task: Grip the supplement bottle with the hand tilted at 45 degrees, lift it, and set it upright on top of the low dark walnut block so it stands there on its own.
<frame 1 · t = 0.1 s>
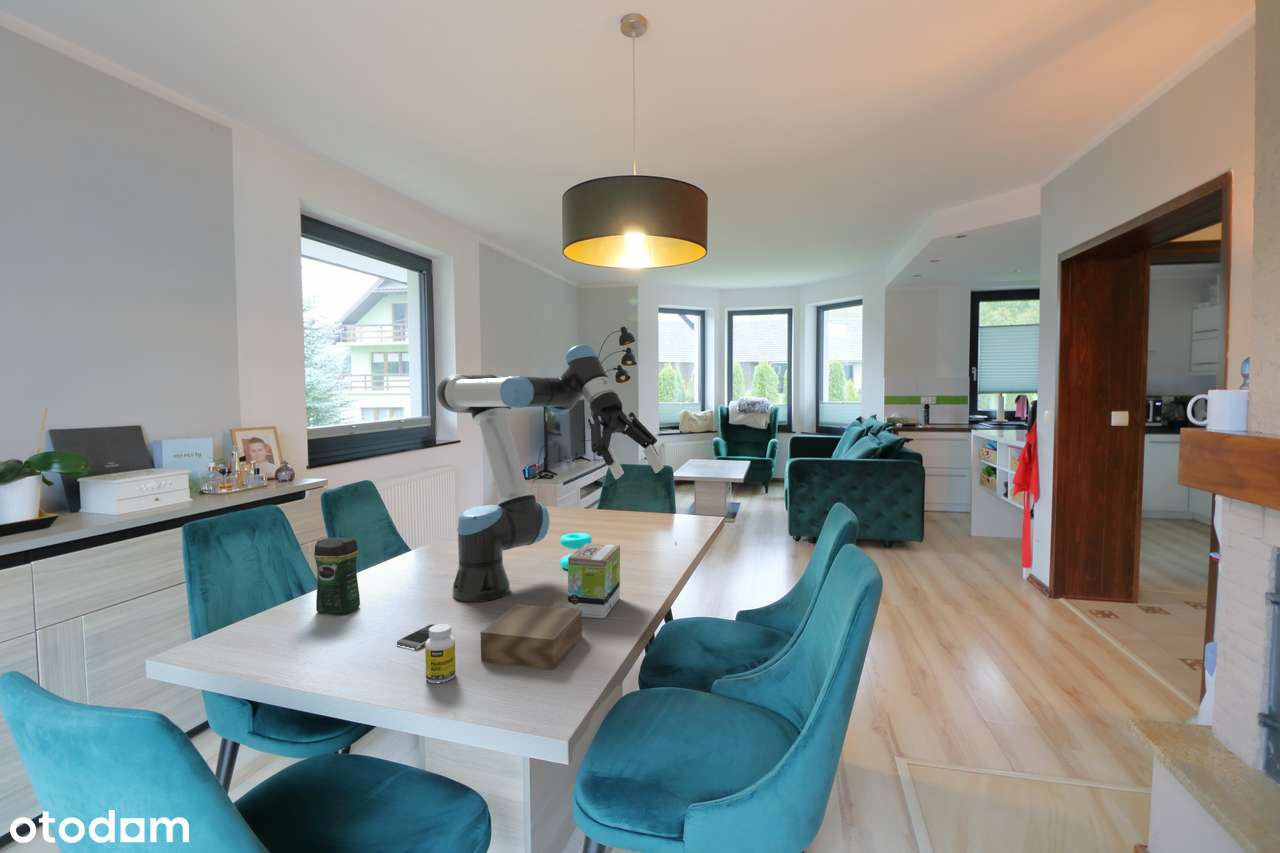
hand: (640, 473, 133), 36 cm above the table, tool tilted 35°, fingers open, 13 cm apart
donuts: (576, 567, 181), on the table
cell phone: (424, 641, 128), on the table
tea box: (595, 607, 146), on the table
walnut block: (533, 648, 122), on the table
coffee jar: (338, 610, 145), on the table
supplement bottle: (440, 678, 110), on the table
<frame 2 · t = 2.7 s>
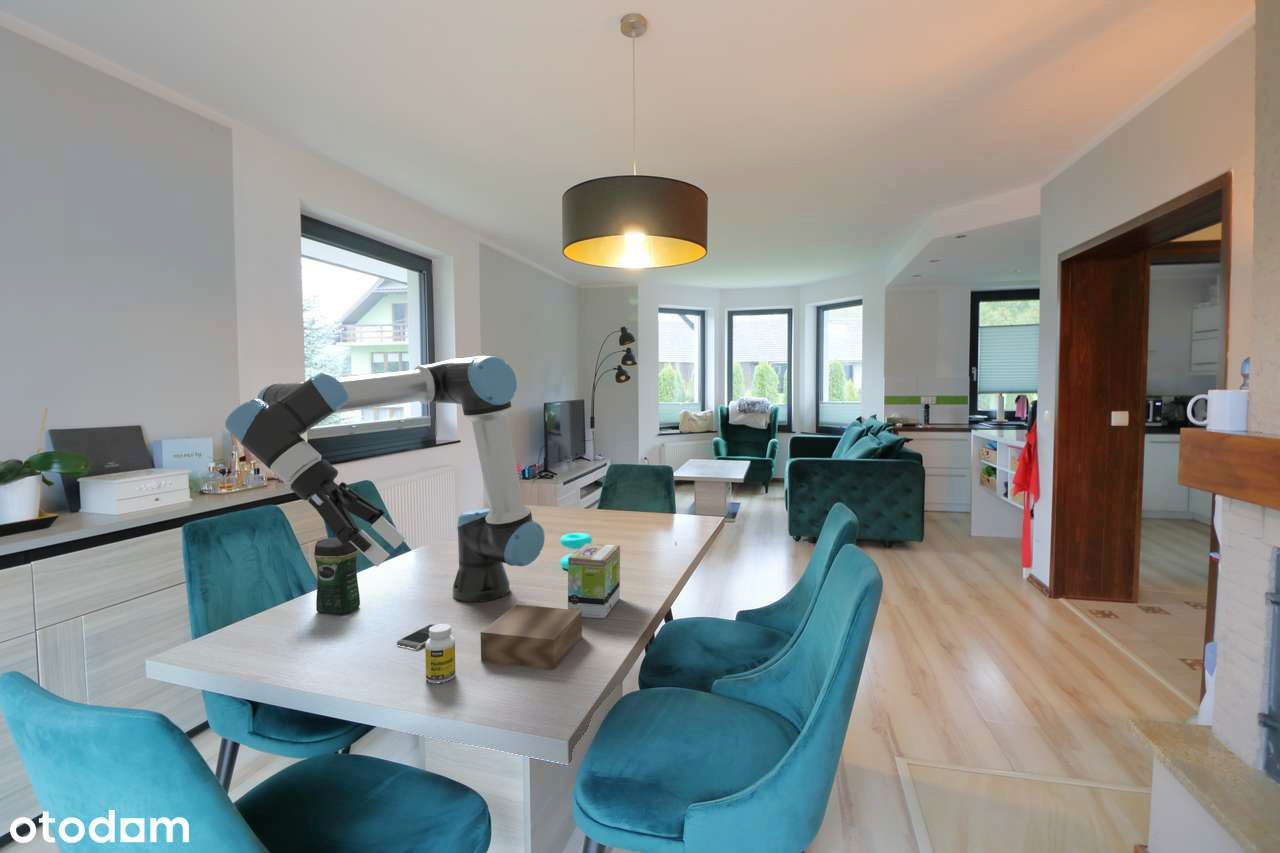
hand: (392, 551, 107), 25 cm above the table, tool tilted 45°, fingers open, 13 cm apart
nothing on the table moved.
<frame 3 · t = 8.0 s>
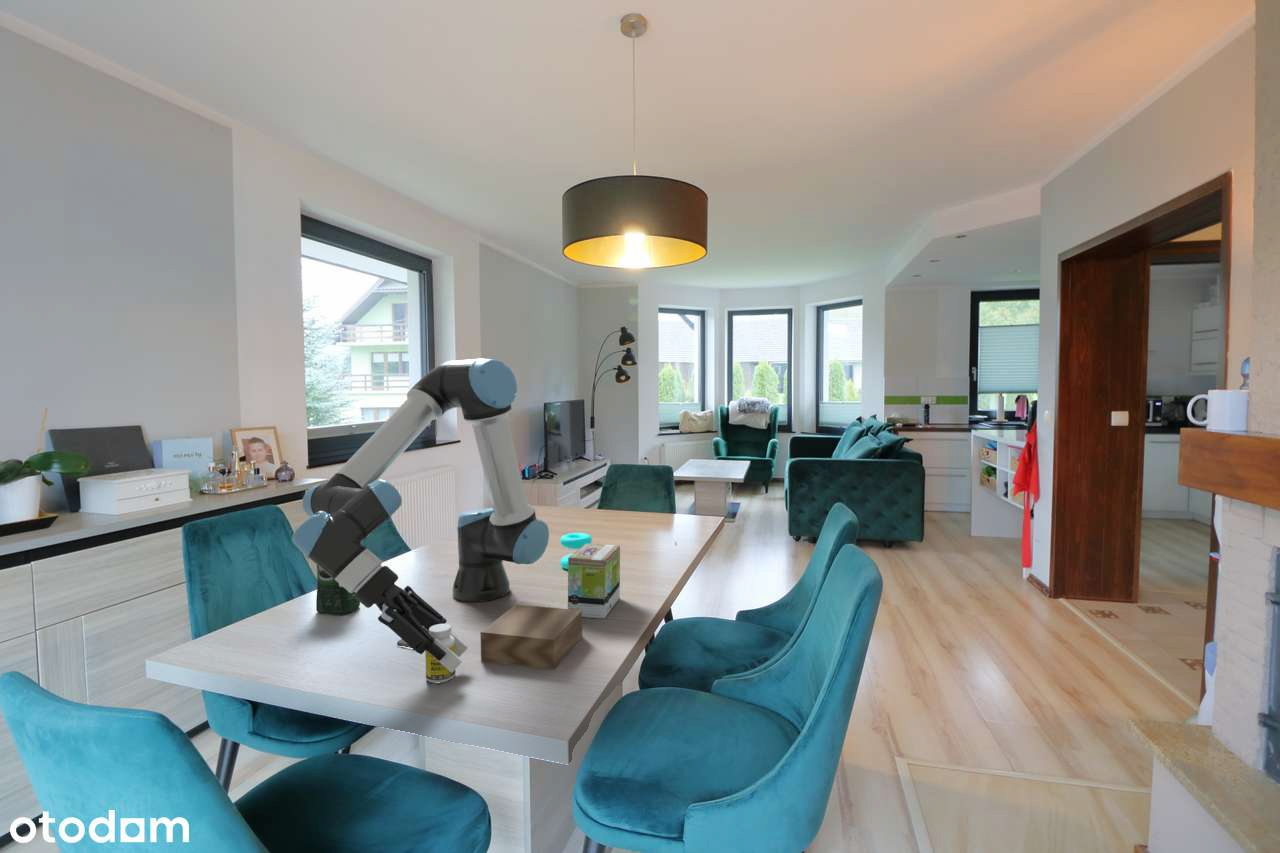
hand: (460, 659, 110), 3 cm above the table, tool tilted 45°, fingers closed on supplement bottle, 5 cm apart
supplement bottle: (441, 678, 110), on the table, touching gripper
everything else where it was.
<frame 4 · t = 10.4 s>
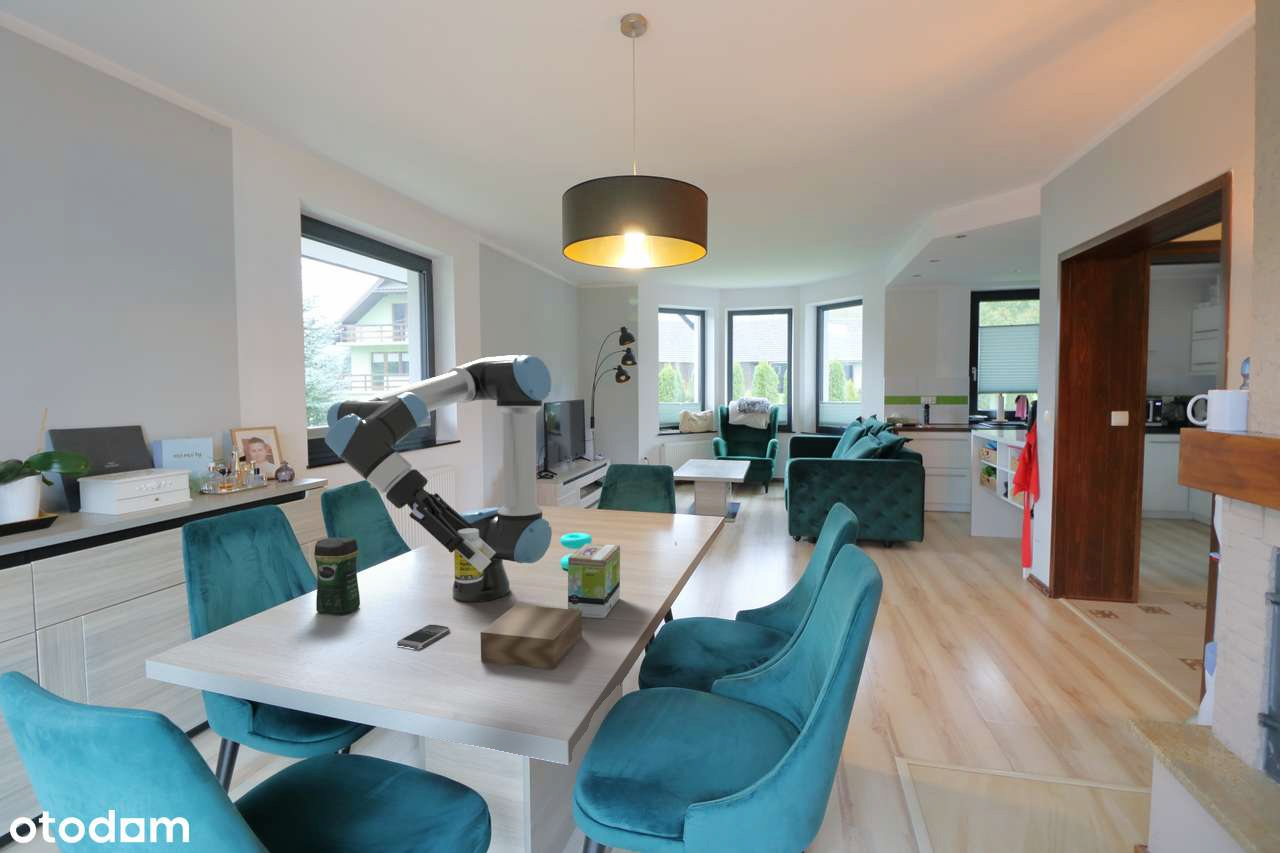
hand: (488, 562, 112), 21 cm above the table, tool tilted 45°, fingers closed on supplement bottle, 5 cm apart
supplement bottle: (469, 580, 112), point 18 cm above the table, touching gripper
everything else where it was.
when the fingers open (12 cm above the table, at t = 13.1 s): supplement bottle drops 3 cm, resting on walnut block.
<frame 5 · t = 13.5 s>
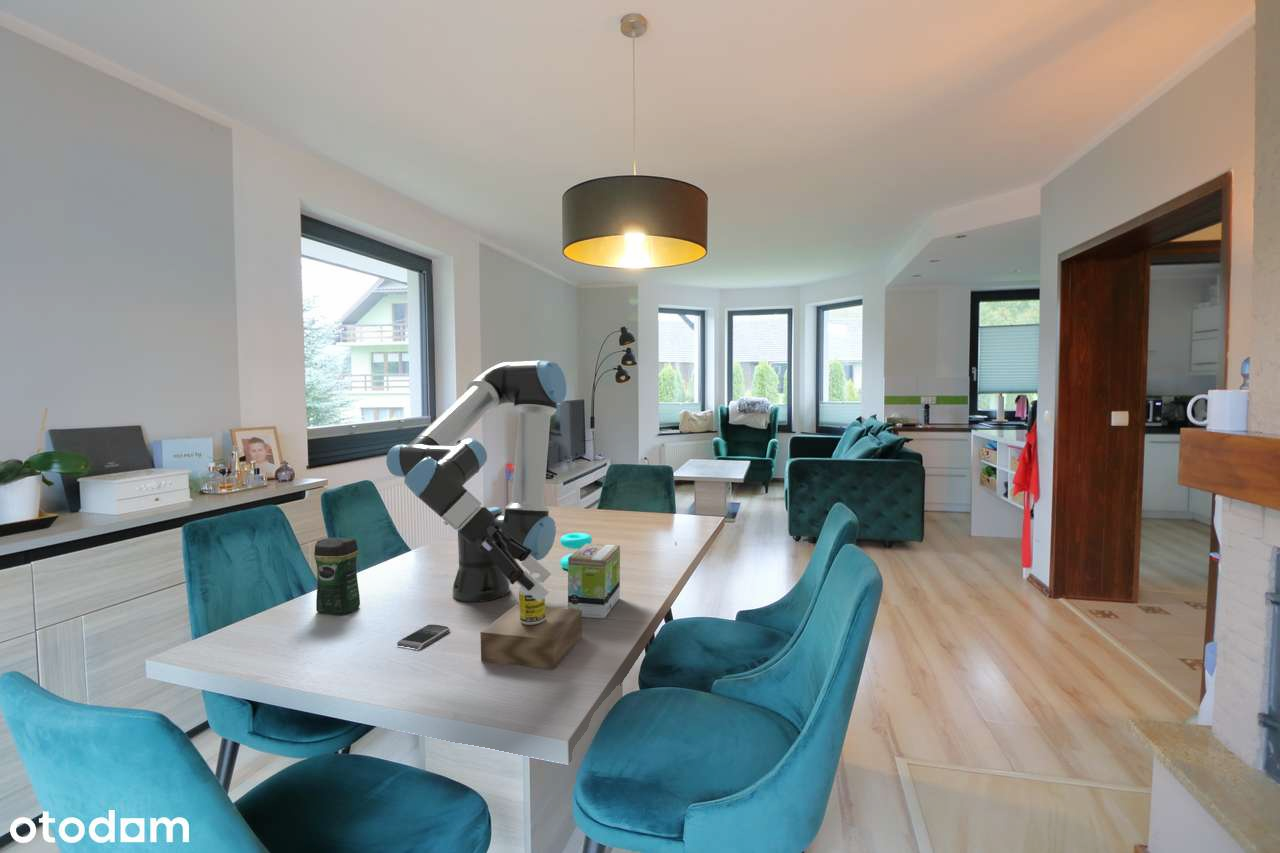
hand: (545, 587, 122), 13 cm above the table, tool tilted 45°, fingers open, 11 cm apart
supplement bottle: (533, 621, 122), point 6 cm above the table, touching walnut block
everything else where it was.
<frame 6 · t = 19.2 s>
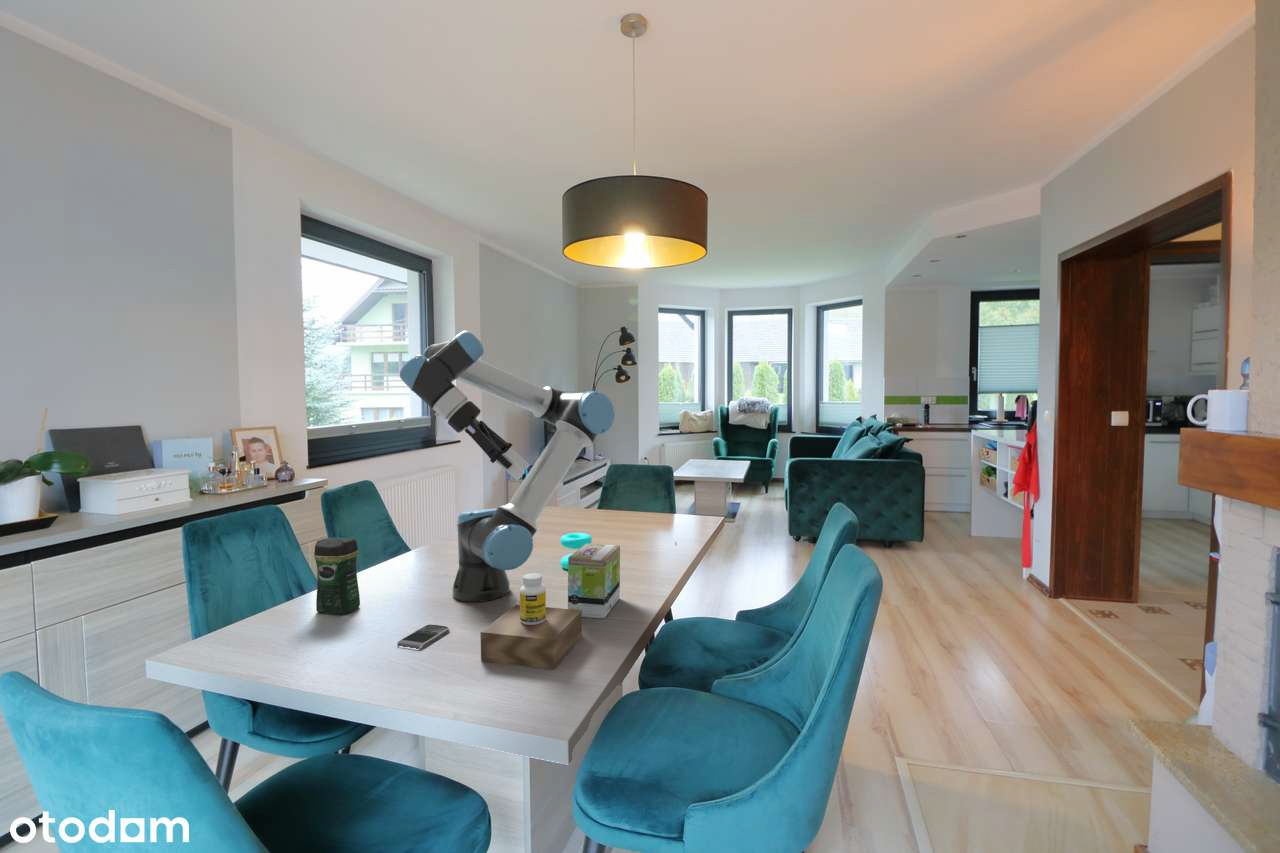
hand: (523, 472, 137), 36 cm above the table, tool tilted 45°, fingers open, 13 cm apart
nothing on the table moved.
at the end: supplement bottle inside the target area on the walnut block (0.1 cm from its centre), point 5.8 cm above the walnut block's base; supplement bottle tilted 0°; the gripper is holding nothing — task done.
